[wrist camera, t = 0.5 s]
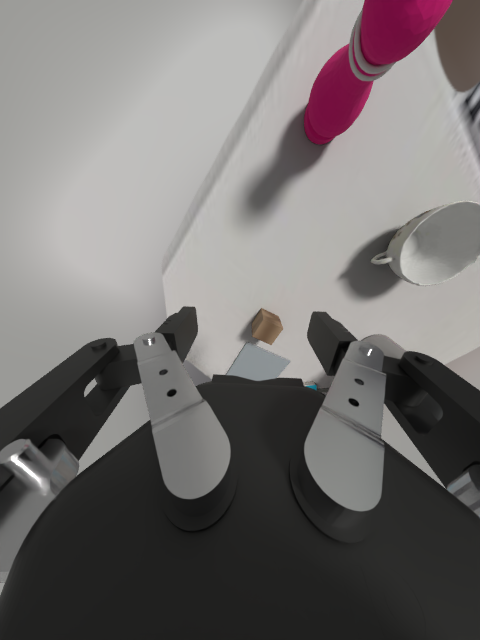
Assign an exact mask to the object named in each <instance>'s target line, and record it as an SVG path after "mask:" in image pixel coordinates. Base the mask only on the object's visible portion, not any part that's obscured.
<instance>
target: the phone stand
mask: <svg viewBox="0 0 480 640" xmlns="http://www.w3.org/2000/svg"><path fill="white" fill-rule="evenodd" d="M314 384H315V383H314V382H305V383H303V385H304V386H306V387H309V388H312V389H314V390H317V391H319V392H320V393H321V392H328V391H329V388H327V389H317V386H316V385H314ZM323 390H325V391H323Z"/></svg>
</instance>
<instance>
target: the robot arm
mask: <svg viewBox="0 0 480 640" xmlns="http://www.w3.org/2000/svg"><path fill="white" fill-rule="evenodd" d="M197 332H198V325H197V315H196V309H195V307H183V308H182V309H181V310H180V311H179V312H178V313H175V314H173V315H171V316H169V317H168V318H167V319H166V321H165V322H164V323H163V324H162V325H161V326H160V327H159V328H158V329H157V330H156V331H155V332H154V333H147V334H144V335H142V336H139V337H138V338H136V339H135V341H134V344H131V345H123V346H117V342H116V340H115V339H112V338H104V339H98V340H95V341H92V342H90V343H88V344H86V345H85V346H83V347H82V348H81V349H79V350H78V351H77V352H75V353H74V354H73V355H71V356H70V357H69V358H67V359H66V360H65V361H63V362H62V363H61V364H59V365H58V366H57V367H55V368H54V369H53V370H52V371H50V372H49V373H47V374H46V375H45V376H43V377H42V378H41V379H40V380H38V381H37V382H35V383H34V384H33V385H31V386H30V387H29V388H27V389H26V390H25V391H23V392H22V393H21V394H19V395H18V396H17V397H15V398H14V399H12V400H11V401H10V402H9V403H7V404H6V405H5V406H3V407H2V408H1V409H0V583H5V585H4V587H3V590H2V593H1V595H0V640H480V391H479V390H478V389H477V388H475V387H474V386H472V385H471V384H470V383H468V382H467V381H465V380H464V379H463V378H461V377H460V376H459V375H457V374H456V373H454V372H453V371H452V370H450V369H449V368H447V367H446V366H445V365H443V364H442V363H441V362H439V361H438V360H436V359H434V358H432V357H430V356H427V355H425V354H422V353H418V352H412V351H406V350H404V349H403V348H402V347H401V346H399V345H398V344H397V343H395V342H394V341H393V340H391V339H390V338H389V337H387V336H385V335H373V336H370V337H367V338H365V339H364V340H362V341H358V340H357V339H356V338H355V337H354V336H353V335H352V334H351V333H350V332H348V330H347V329H346V328H345V327H344V326H343V325H342V324H341V323H339V322H338V321H336V320H334V319H332V318H331V317H330V316H329V315H328V314H327V313H326V312H313V313H312V315H311V319H310V324H309V328H308V332H307V338H308V341H309V343H310V345H311V346H312V348H313V350H314V352H315V354H316V356H317V357H318V359H319V361H320V363H321V365H322V366H323V368H324V370H325V372H326V374H327V375H329V376H335V378H334V380H333V382H332V384H331V386H330V389H329V391H328V393H327V395H326V396H325V395H324V394H322V393H320V392H319V391H317V390H314V389H312V388H309V387H306V386H304V385H303V382H302V379H297V378H274V379H268V380H262V381H254V380H251V379H247V378H243V377H239V376H234V375H214V374H213V378H212V381H210V382H206V383H203V384H200V385H198V386H195V385H194V383H193V381H192V380H191V378H190V376H189V374H188V373H187V371H186V369H185V367H184V365H183V362H184V360H185V358H186V356H187V354H188V352H189V350H190V348H191V346H192V344H193V342H194V340H195V338H196V336H197ZM94 378H95V380H96V382H97V385H96V386H95V387H94V388H93V389H92V390H91V391H90V393H89V394H88V395H87V396H86V397H84V391H85V388H86V386H87V385H88V384H89V383H90V382H91V381H92V380H93V379H94ZM140 383H142V385H143V390H144V394H145V399H146V403H147V407H148V411H149V416H150V420H149V421H148V422H147V423H145V424H144V425H143V426H141V427H140V428H139V429H138V430H136V431H135V432H134V433H132V434H131V435H130V436H128V437H127V438H126V439H124V440H123V441H122V442H120V443H119V444H118V445H116V446H115V447H114V448H112V449H111V450H110V451H109V452H107V453H106V454H105V455H103V456H102V457H101V458H99V459H98V460H97V461H95V462H94V463H93V464H92V465H90V466H89V467H88V468H86V469H85V470H84V471H82V472H81V473H80V474H79V475H77V473H78V470H79V462H78V461H79V459H80V458H81V456H82V455H83V454H84V452H85V451H86V449H87V448H88V446H89V445H90V444H91V442H92V441H93V439H94V438H95V436H96V435H97V433H98V432H99V430H100V429H101V428H102V426H103V425H104V423H105V422H106V420H107V419H108V417H109V416H110V415H111V413H112V412H113V410H114V409H115V407H116V406H117V404H118V403H119V402H120V400H121V399H122V397H123V396H124V394H125V393H126V391H127V390H128V388H129V387H130V385H135V384H140ZM384 404H385V405H386V406H387V408H388V409H389V410H390V412H391V413H392V414H393V416H394V417H395V419H396V420H397V421H398V423H399V424H400V426H401V427H402V428H403V430H404V431H405V432H406V434H407V435H408V437H409V438H410V439H411V441H412V442H413V443H414V445H415V446H416V448H417V449H418V450H419V452H420V453H421V455H422V456H423V457H424V459H425V460H426V461H427V463H428V464H429V466H430V467H431V468H432V470H433V471H434V472H435V474H436V475H437V476H438V478H439V479H440V481H441V482H442V483H443V485H444V486H445V488H446V489H447V490H446V489H445V488H444V487H443V486H441V485H440V484H439V483H437V482H436V481H435V480H434V479H432V478H431V477H430V476H428V475H427V474H426V473H425V472H423V471H422V470H421V469H419V468H418V467H417V466H416V465H414V464H413V463H412V462H411V461H409V460H408V459H407V458H405V457H404V456H403V455H402V454H400V453H399V452H398V451H396V450H395V449H394V448H392V447H391V446H390V445H389V444H387V443H386V442H385V441H384V440H382V439H381V430H382V419H383V407H384ZM76 475H77V476H76Z"/></svg>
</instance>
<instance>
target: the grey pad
mask: <svg viewBox="0 0 480 640" xmlns="http://www.w3.org/2000/svg"><path fill="white" fill-rule="evenodd" d="M289 363H290V360H288V359H285V358H283V357H281V356H278V355H276V354H274V353H272V352H269V351H267V350H265V349H262V348H260V347H258V346H256V345H253V344H251V343H249V342H246V344H245V346H244V347H243V349H242V350H241V352H240V353H239V355H238V357H237V358H236V360H235V361H234V363H233V364H232V366H231V368H230V369H229V371H228V372H227V374H226V375H234V376H239V377H243V378H247V379H251V380H254V381H262V380H268V379H274V378H277V377H278V376H279V375H280V373H281V372H282V371H283V370H284V369H285V368H286V366H287V365H288V364H289Z"/></svg>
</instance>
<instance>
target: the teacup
mask: <svg viewBox="0 0 480 640" xmlns="http://www.w3.org/2000/svg"><path fill="white" fill-rule="evenodd" d="M479 255H480V204H479V203H476V202H471V201H459V202H454V203H451V204H447V205H443V206H440V207H437V208H434V209H431V210H429V211H426V212H424V213H422V214H420V215H419V216H417V217H415V218H413V219H412V220H410V221H409V222H408V223H406V224H405V225H404V226H403V227H402V228H401V229H399V230H398V231H397V233H396V234H395V235H394V236H393V238H392V240H391V241H390V243H389V246H388V249H387V251H385V252H383V253H380V254H378V255H376V256H375V257H374V258H373V259H372V260H371V262H372V263H373V264H377V265H379V264H385V263H388V264H389V266H390V268H391V269H392V271H393V272H394V273H395V274H396V275H398V276H399V277H400V278H402V279H404V280H405V281H407V282H410V283H412V284H416V285H418V286H429V285H436V284H440V283H443V282H445V281H448V280H450V279H451V278H453V277H455V276H457V275H459V274H460V273H461V272H462V271H463V270H464V269H466V268H467V267H468V266H469V265H471V264H472V263H474V262H475V261H476V260H477V258H478V256H479ZM382 256H386V257H387V258H385V259H381V260H377V259H378V258H380V257H382Z"/></svg>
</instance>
